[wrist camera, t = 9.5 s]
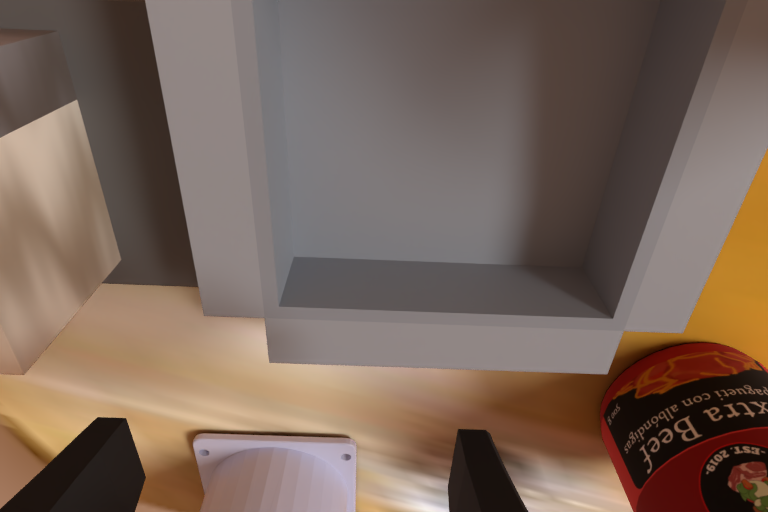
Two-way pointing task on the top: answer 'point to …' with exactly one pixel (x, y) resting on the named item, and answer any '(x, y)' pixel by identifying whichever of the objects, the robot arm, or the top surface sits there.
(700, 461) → the canned food
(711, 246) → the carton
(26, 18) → the rubber mat
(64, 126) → the maple block
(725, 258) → the top surface
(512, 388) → the top surface
